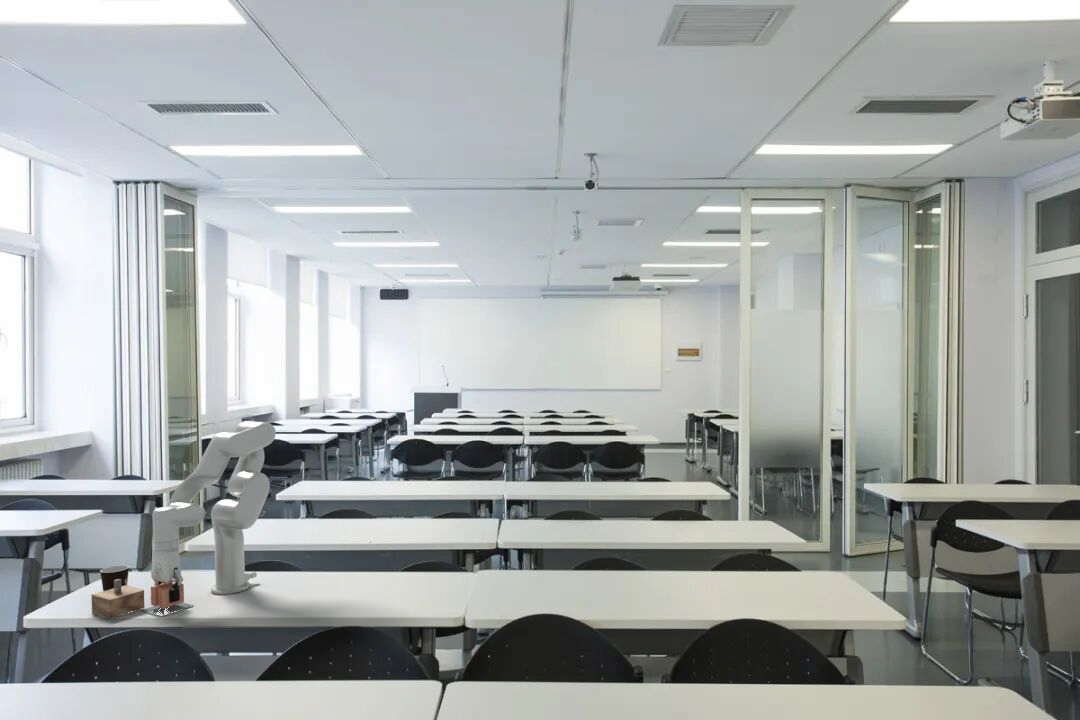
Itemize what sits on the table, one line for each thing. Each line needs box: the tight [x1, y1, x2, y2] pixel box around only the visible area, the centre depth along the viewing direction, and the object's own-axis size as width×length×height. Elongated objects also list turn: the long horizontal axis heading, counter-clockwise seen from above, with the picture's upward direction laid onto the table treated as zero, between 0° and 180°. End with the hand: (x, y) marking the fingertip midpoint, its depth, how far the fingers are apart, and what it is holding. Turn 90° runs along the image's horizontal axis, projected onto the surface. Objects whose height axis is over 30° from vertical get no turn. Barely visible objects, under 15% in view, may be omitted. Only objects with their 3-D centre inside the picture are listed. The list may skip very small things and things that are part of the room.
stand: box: [91, 579, 145, 620], centre depth 240 cm, size 11×11×10 cm
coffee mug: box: [99, 564, 130, 592], centre depth 254 cm, size 12×9×10 cm
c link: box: [150, 582, 185, 609], centre depth 240 cm, size 7×7×6 cm
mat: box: [141, 602, 194, 615], centre depth 240 cm, size 11×11×1 cm
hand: (167, 599), depth 240 cm, fingers closed on c link, 7 cm apart
